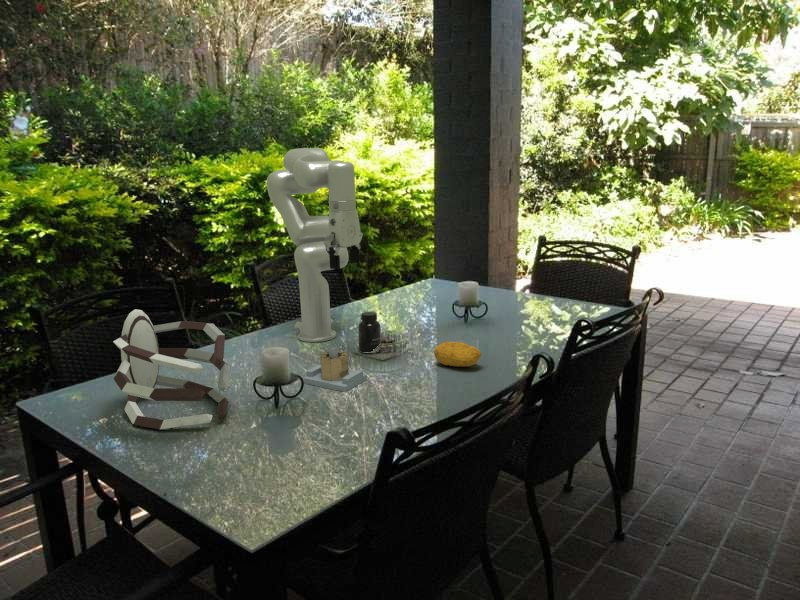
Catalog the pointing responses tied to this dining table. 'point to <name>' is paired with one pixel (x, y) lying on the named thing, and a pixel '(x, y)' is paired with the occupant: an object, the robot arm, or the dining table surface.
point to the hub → (334, 366)
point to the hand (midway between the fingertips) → (345, 265)
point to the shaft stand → (340, 385)
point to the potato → (457, 354)
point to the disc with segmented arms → (146, 356)
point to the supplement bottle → (369, 332)
